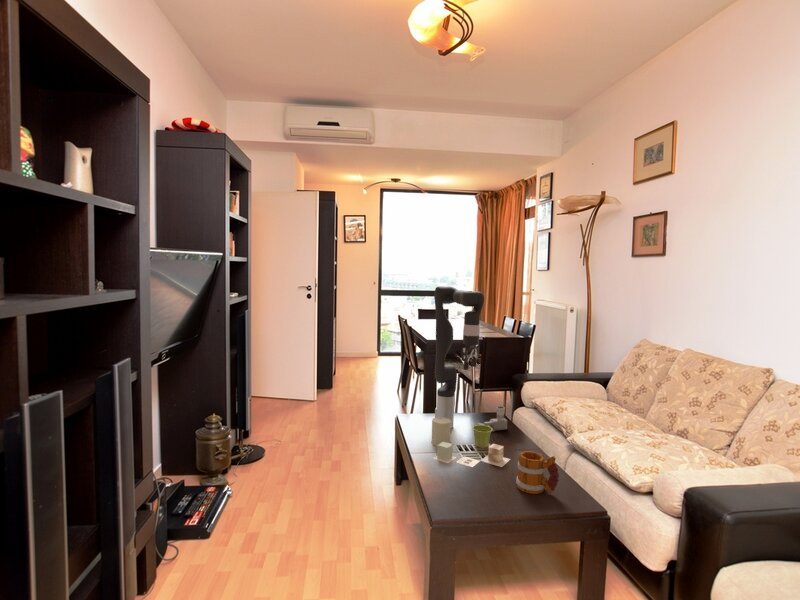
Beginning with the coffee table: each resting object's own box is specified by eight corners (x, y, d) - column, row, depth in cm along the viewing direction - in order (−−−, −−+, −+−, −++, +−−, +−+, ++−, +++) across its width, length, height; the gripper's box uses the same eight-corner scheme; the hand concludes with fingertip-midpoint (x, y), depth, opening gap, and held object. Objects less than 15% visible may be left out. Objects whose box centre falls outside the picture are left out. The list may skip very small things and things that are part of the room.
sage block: (437, 458, 198) (437, 445, 197) (442, 454, 202) (443, 441, 202) (447, 461, 195) (447, 447, 195) (452, 457, 199) (452, 444, 199)
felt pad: (480, 461, 196) (480, 460, 196) (489, 454, 205) (489, 453, 204) (501, 467, 191) (501, 466, 191) (510, 460, 199) (510, 459, 199)
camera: (510, 409, 234) (483, 411, 231) (509, 431, 235) (482, 433, 232) (502, 404, 243) (476, 406, 239) (501, 425, 244) (476, 427, 240)
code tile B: (432, 459, 197) (432, 458, 197) (441, 453, 204) (441, 452, 204) (448, 463, 193) (448, 463, 193) (456, 457, 200) (456, 457, 200)
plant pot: (490, 442, 218) (491, 425, 218) (492, 450, 209) (493, 432, 209) (471, 441, 219) (472, 424, 219) (472, 449, 210) (473, 431, 209)
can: (446, 439, 221) (447, 415, 220) (453, 446, 212) (454, 421, 212) (428, 440, 219) (429, 416, 218) (434, 447, 210) (435, 423, 209)
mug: (522, 478, 182) (523, 442, 181) (562, 491, 171) (564, 453, 170) (510, 487, 173) (512, 450, 172) (552, 502, 163) (554, 462, 162)
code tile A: (455, 462, 194) (455, 462, 194) (463, 456, 201) (463, 456, 201) (472, 467, 190) (472, 467, 190) (480, 461, 196) (480, 460, 196)
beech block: (488, 460, 197) (488, 447, 197) (492, 456, 201) (493, 443, 201) (498, 463, 194) (499, 449, 194) (503, 459, 198) (503, 446, 198)
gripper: (470, 331, 216) (469, 364, 218) (457, 334, 205) (455, 369, 206) (485, 333, 212) (483, 366, 213) (472, 336, 200) (470, 372, 202)
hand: (469, 368), depth 210 cm, fingers open, 8 cm apart
